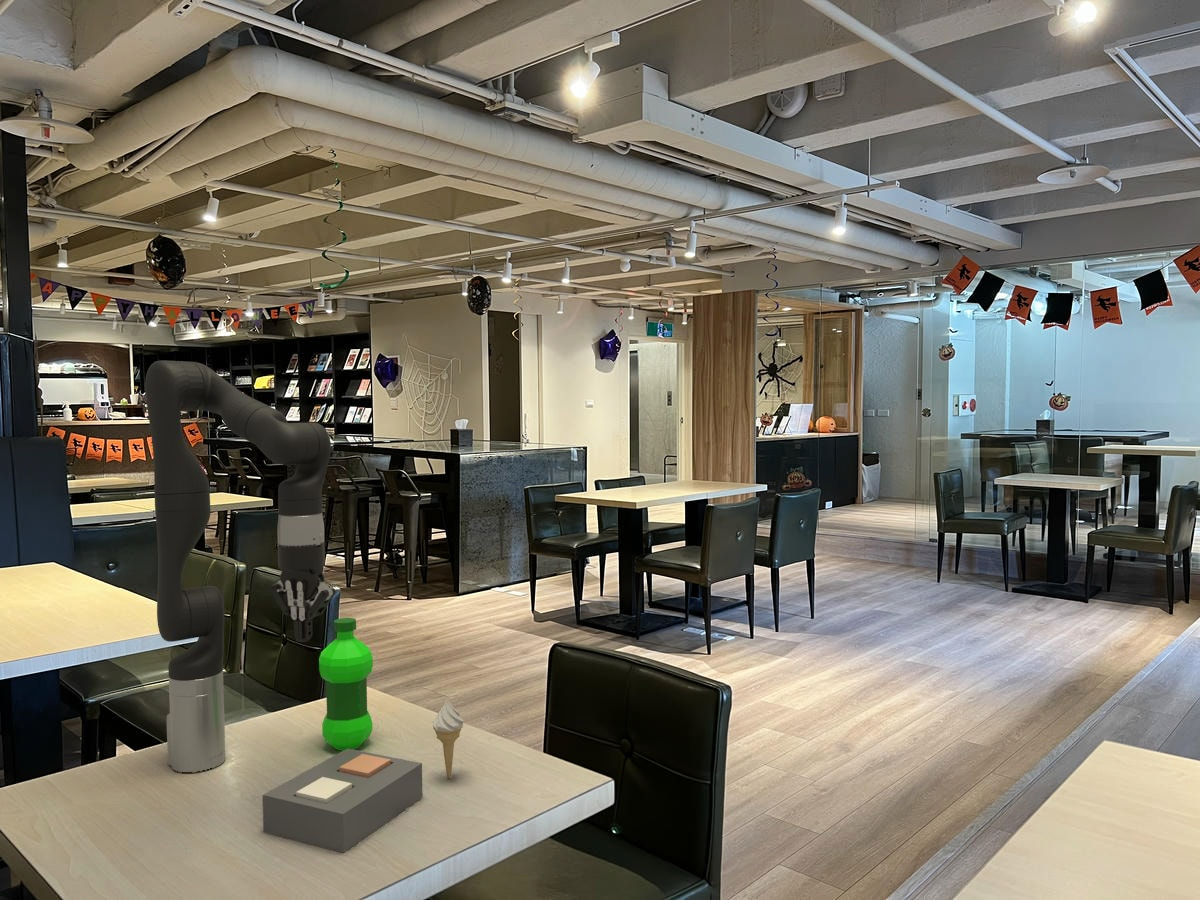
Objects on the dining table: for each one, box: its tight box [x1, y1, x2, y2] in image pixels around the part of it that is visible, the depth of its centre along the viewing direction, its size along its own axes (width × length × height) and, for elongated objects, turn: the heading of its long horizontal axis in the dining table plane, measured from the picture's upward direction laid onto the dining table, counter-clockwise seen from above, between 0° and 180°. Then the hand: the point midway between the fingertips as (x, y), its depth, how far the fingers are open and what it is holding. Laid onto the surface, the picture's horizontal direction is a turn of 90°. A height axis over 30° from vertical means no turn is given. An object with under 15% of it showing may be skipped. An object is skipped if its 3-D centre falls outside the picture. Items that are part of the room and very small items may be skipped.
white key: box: [296, 777, 352, 804], centre depth 139 cm, size 6×6×3 cm
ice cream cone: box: [431, 696, 465, 780], centre depth 157 cm, size 6×6×15 cm
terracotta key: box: [339, 754, 391, 778], centre depth 148 cm, size 6×6×3 cm
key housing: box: [261, 748, 423, 854], centre depth 144 cm, size 16×20×6 cm
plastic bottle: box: [318, 617, 374, 752], centre depth 172 cm, size 10×10×25 cm
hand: (303, 640), depth 149 cm, fingers closed
